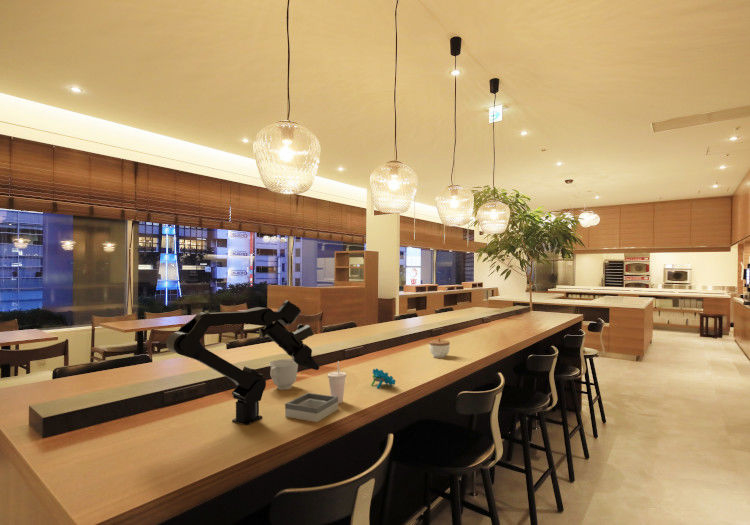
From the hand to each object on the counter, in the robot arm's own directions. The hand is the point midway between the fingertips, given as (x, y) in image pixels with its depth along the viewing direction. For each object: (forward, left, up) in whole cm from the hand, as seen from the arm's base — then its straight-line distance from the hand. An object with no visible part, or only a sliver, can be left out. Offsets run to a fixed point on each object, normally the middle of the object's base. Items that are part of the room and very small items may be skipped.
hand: (315, 366), depth 132 cm
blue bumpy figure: (+28, -12, -13) cm, 34 cm away
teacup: (+11, +23, -13) cm, 29 cm away
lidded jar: (+88, -17, -13) cm, 90 cm away
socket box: (-6, -3, -13) cm, 15 cm away
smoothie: (+6, -5, -13) cm, 15 cm away
